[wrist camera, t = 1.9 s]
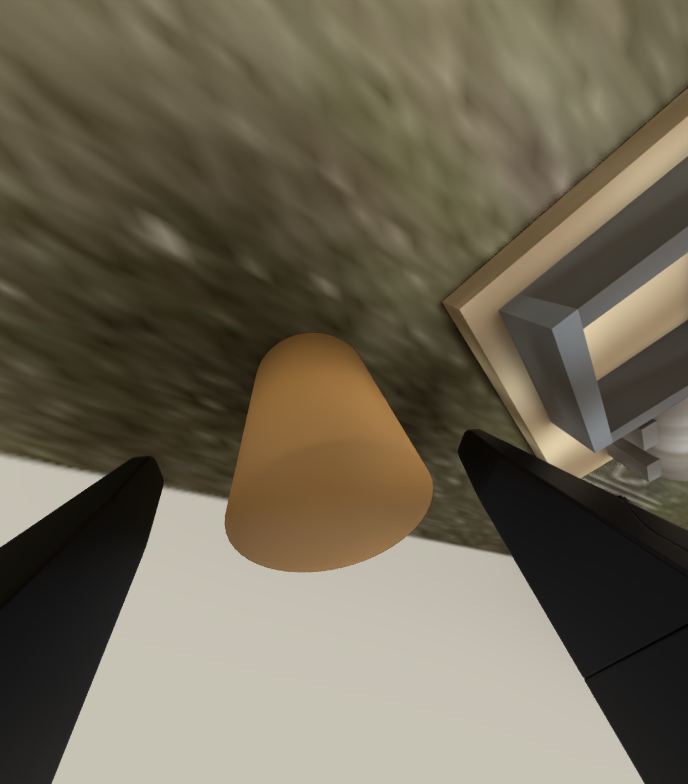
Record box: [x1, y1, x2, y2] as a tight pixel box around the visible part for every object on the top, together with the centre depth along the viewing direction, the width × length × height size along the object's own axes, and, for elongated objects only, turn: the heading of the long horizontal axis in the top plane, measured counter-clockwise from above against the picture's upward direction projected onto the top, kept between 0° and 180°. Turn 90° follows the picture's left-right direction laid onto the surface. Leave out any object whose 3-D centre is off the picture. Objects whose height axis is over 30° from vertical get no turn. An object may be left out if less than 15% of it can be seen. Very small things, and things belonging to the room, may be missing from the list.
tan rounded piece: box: [225, 333, 433, 572], centre depth 8 cm, size 5×5×6 cm
